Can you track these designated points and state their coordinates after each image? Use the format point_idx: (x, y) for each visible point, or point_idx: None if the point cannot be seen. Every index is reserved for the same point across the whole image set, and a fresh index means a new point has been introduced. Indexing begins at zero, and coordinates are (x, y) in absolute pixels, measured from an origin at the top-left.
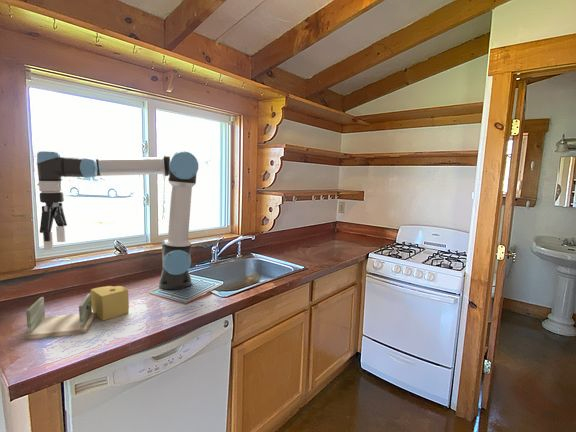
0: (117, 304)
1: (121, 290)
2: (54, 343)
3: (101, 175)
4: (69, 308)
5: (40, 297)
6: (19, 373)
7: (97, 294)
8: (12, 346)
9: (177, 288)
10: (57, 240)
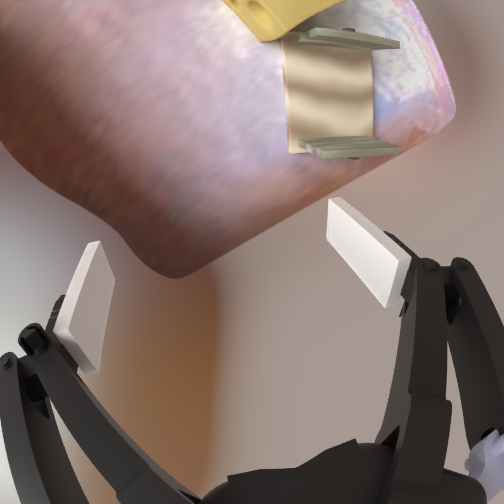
0: None
1: None
2: (390, 88)
3: None
4: (213, 114)
5: (326, 158)
6: (445, 114)
7: (323, 10)
8: None
9: None
10: (113, 285)
